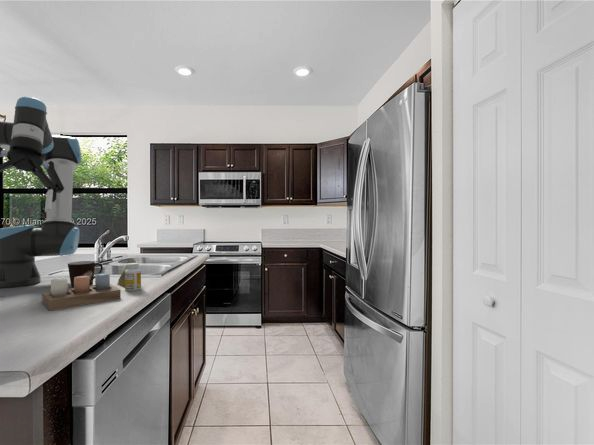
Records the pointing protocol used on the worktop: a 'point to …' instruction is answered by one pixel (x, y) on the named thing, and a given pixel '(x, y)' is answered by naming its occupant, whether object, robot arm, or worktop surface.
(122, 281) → the rock
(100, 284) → the pale blue egg
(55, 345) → the worktop surface
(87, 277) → the peach oval egg shape
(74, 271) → the coffee mug
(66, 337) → the worktop surface
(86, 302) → the brown wooden flat block
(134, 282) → the supplement bottle
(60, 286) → the off-white egg
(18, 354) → the worktop surface
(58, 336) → the worktop surface
